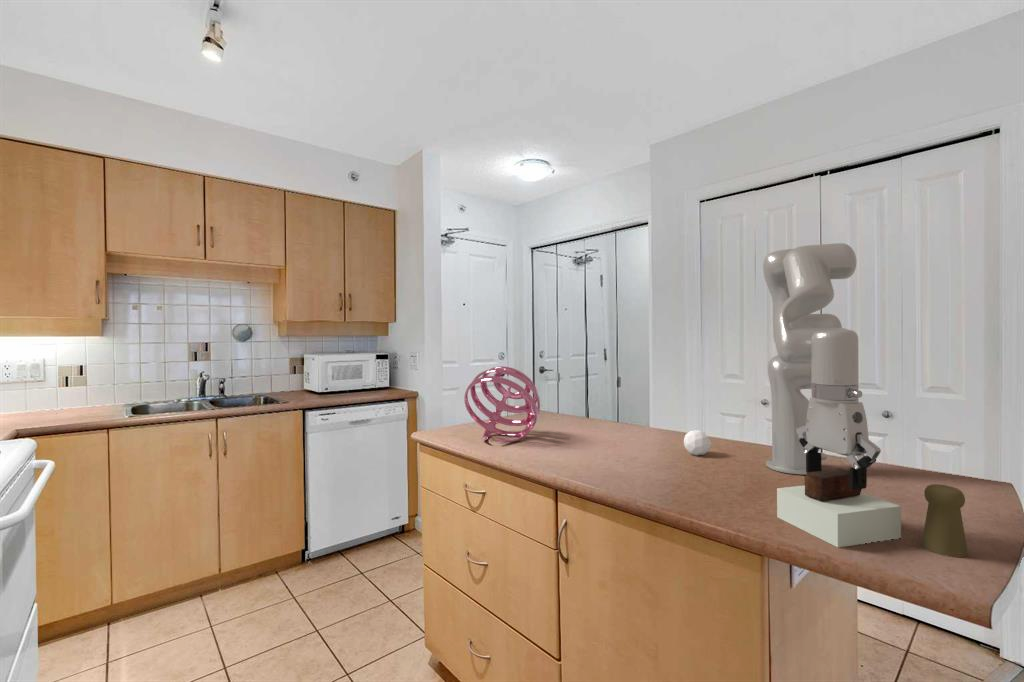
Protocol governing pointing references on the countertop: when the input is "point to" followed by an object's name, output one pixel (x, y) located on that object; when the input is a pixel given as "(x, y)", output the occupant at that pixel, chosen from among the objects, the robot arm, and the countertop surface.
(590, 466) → the countertop surface
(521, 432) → the spiral basket
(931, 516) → the cork
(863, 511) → the sage block
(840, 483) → the brick
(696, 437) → the ball
